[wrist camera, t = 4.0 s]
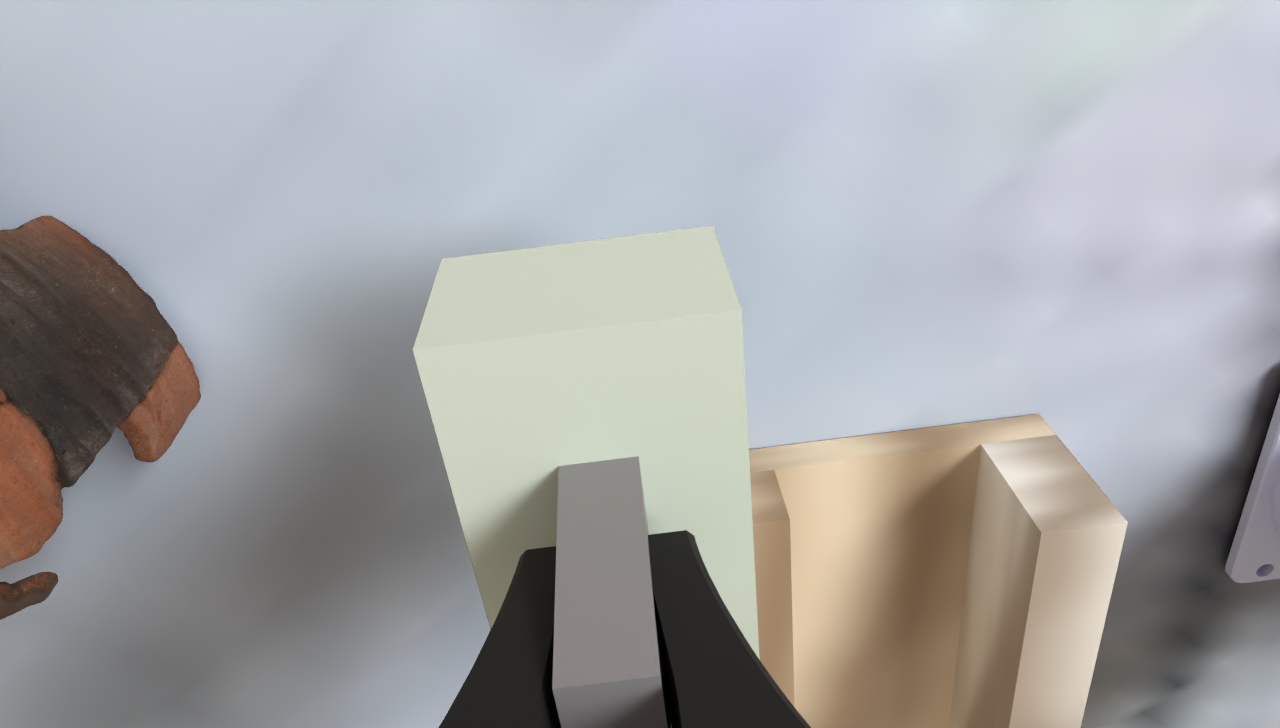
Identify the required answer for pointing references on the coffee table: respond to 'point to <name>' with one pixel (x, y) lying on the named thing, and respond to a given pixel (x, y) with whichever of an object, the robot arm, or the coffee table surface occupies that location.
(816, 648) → the board
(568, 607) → the slab with grey handle
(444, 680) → the coffee table surface
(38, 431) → the pottery mug
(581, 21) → the coffee table surface
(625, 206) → the coffee table surface
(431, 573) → the coffee table surface
